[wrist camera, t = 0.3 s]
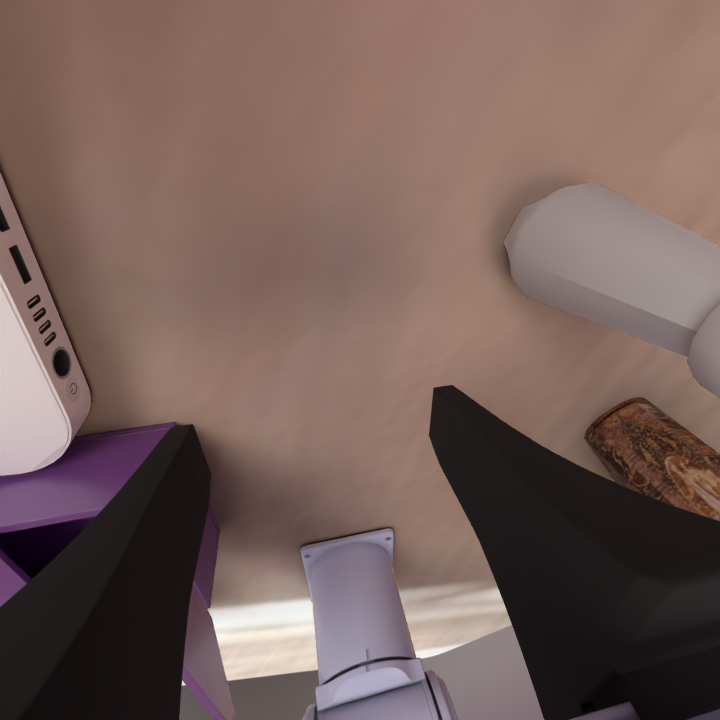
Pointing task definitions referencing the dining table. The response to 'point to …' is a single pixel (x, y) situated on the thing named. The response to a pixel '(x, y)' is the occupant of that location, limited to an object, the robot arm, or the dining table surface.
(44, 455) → the computer
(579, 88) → the dining table surface
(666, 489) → the book
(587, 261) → the salt shaker
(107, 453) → the purple open box
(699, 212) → the dining table surface
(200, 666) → the purple box lid
